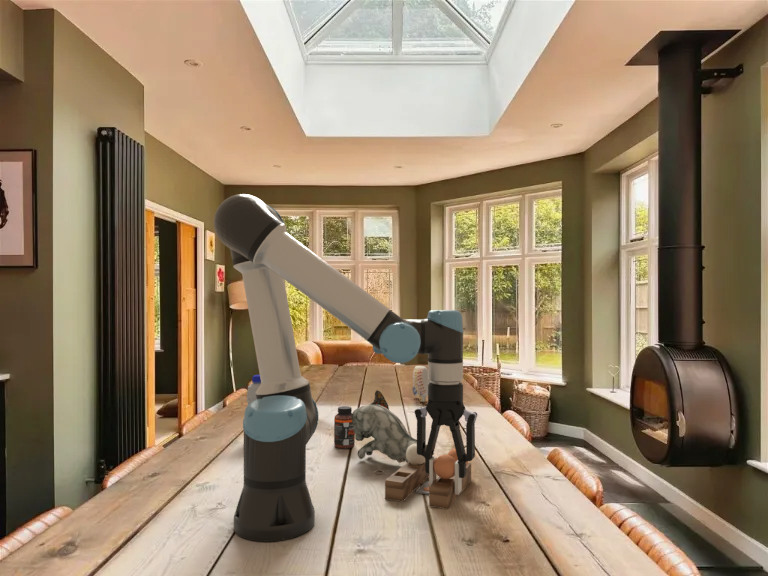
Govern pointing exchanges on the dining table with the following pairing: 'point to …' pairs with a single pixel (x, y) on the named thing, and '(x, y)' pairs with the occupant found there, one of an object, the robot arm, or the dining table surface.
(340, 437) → the supplement bottle
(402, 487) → the rack
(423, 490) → the card
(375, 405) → the figurine
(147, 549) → the dining table surface
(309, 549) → the dining table surface
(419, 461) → the cream ball
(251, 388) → the bottle
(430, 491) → the rack
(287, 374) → the robot arm
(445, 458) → the rust ball
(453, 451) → the rust ball
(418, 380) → the white patterned rounded slab
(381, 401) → the butterfly
